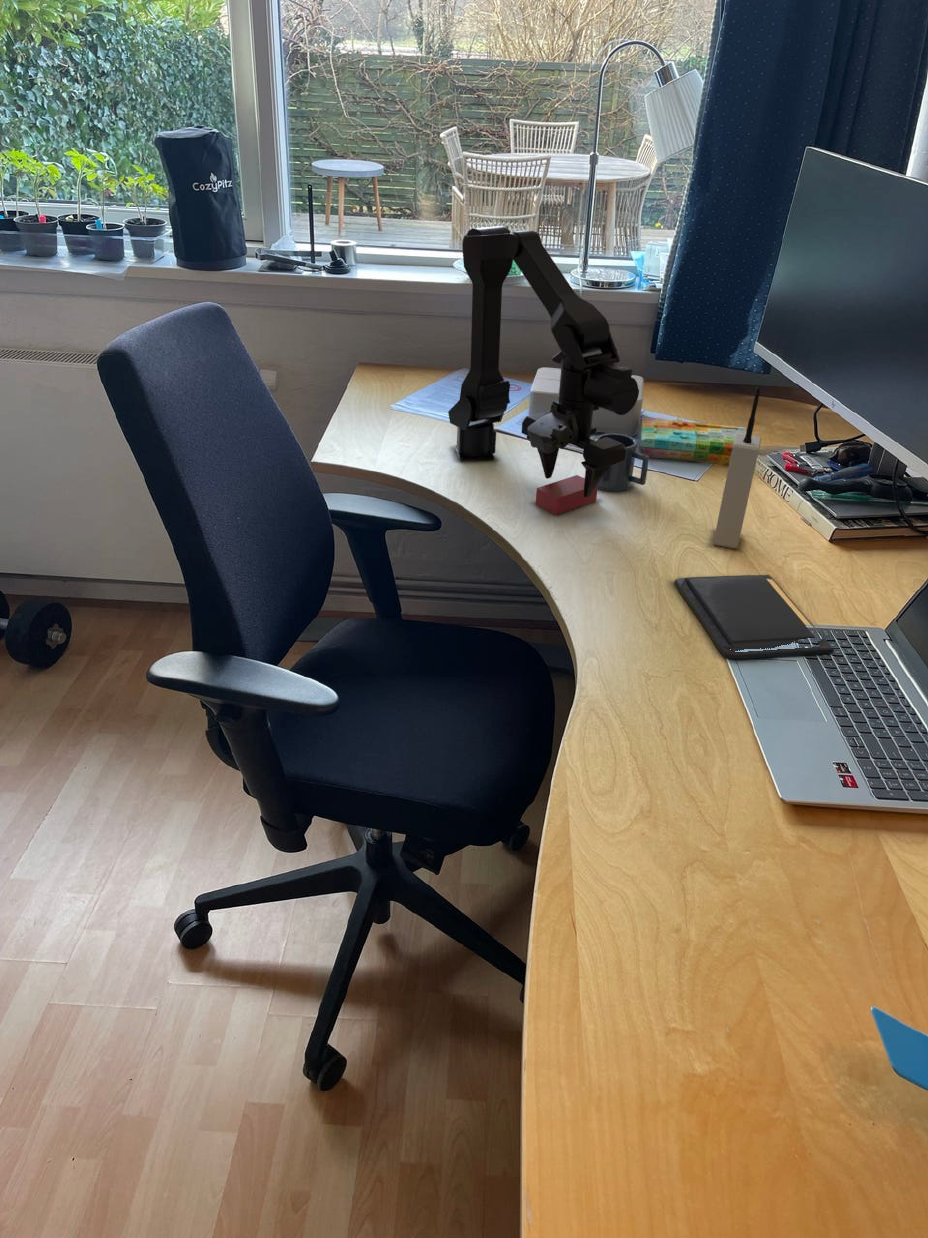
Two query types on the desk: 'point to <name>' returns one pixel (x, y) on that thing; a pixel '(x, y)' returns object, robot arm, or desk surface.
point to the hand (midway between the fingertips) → (567, 487)
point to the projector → (603, 420)
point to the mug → (623, 466)
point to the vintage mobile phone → (738, 484)
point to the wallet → (748, 615)
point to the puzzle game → (688, 440)
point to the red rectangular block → (564, 495)
